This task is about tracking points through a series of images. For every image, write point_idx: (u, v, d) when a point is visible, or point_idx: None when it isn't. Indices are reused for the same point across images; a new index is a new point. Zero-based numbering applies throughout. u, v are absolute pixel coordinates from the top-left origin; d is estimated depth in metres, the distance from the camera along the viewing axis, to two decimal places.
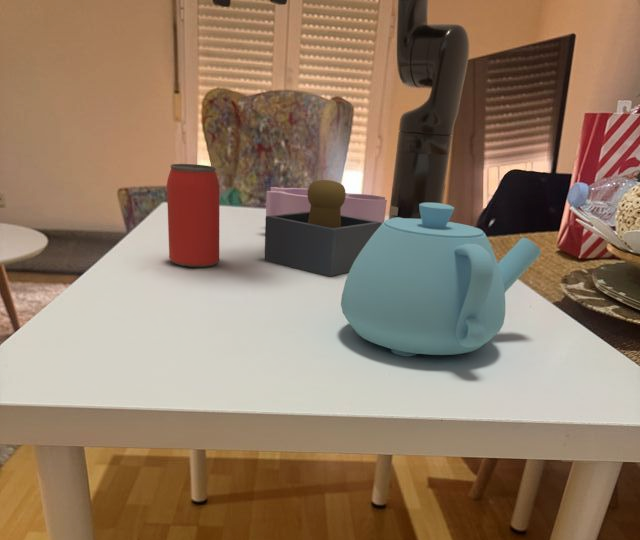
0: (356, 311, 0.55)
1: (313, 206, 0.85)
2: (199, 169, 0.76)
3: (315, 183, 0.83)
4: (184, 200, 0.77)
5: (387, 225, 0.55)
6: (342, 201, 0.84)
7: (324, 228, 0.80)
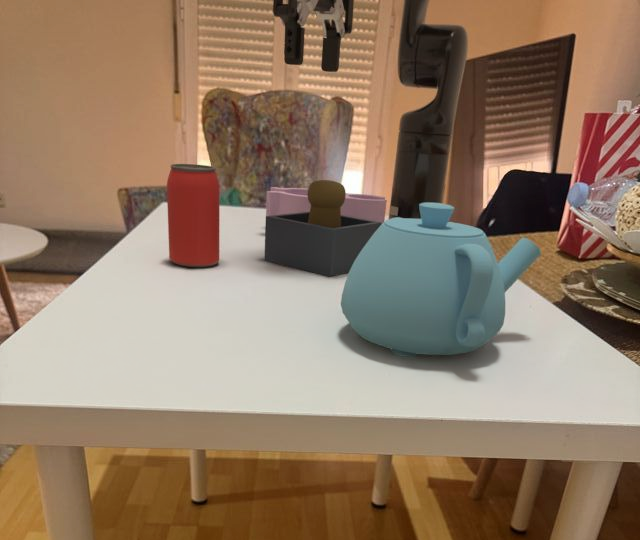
0: (356, 311, 0.55)
1: (313, 206, 0.85)
2: (199, 169, 0.76)
3: (315, 183, 0.83)
4: (184, 200, 0.77)
5: (387, 225, 0.55)
6: (342, 201, 0.84)
7: (324, 228, 0.80)
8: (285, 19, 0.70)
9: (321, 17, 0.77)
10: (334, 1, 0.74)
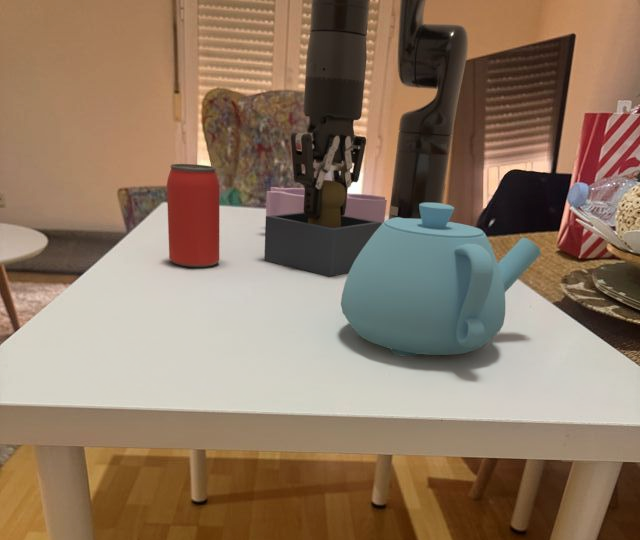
0: (356, 311, 0.55)
1: None
2: (199, 169, 0.76)
3: None
4: (184, 200, 0.77)
5: (387, 225, 0.55)
6: (342, 201, 0.84)
7: (324, 228, 0.80)
8: (304, 184, 0.81)
9: (331, 168, 0.86)
10: (343, 156, 0.83)
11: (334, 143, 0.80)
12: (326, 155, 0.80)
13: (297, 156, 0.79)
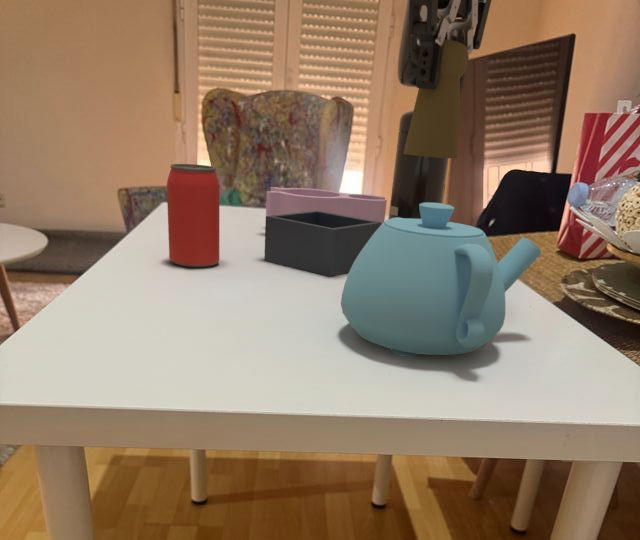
0: (356, 311, 0.55)
1: None
2: (199, 169, 0.76)
3: None
4: (184, 200, 0.77)
5: (387, 225, 0.55)
6: (465, 67, 0.65)
7: (324, 228, 0.80)
8: (422, 38, 0.61)
9: (449, 27, 0.66)
10: (469, 6, 0.64)
11: None
12: None
13: None
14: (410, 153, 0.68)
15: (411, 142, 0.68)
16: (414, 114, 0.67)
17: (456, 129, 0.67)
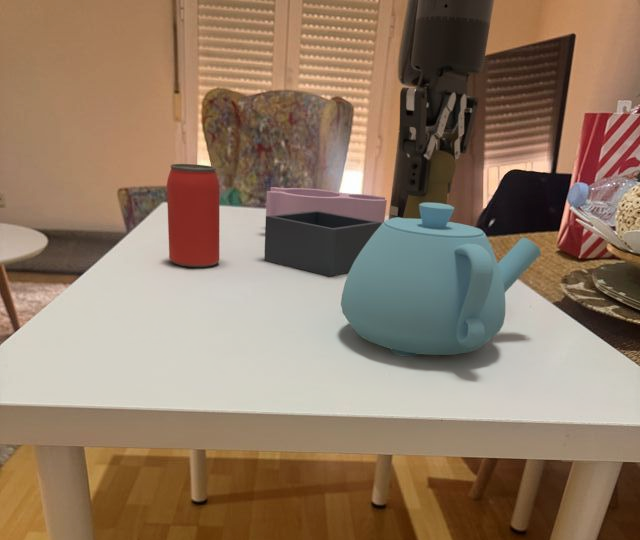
0: (356, 311, 0.55)
1: None
2: (199, 169, 0.76)
3: None
4: (184, 200, 0.77)
5: (387, 225, 0.55)
6: (452, 175, 0.69)
7: (324, 228, 0.80)
8: (411, 153, 0.66)
9: None
10: (456, 119, 0.68)
11: (450, 102, 0.65)
12: (440, 117, 0.65)
13: (407, 117, 0.63)
14: None
15: None
16: (405, 215, 0.72)
17: None
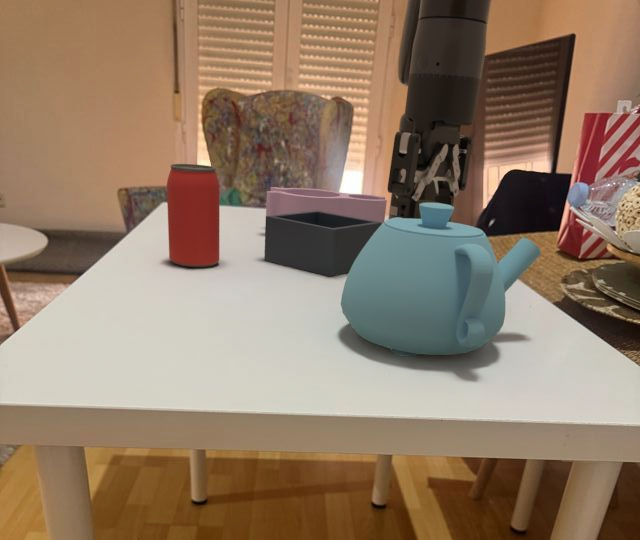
0: (356, 311, 0.55)
1: None
2: (199, 169, 0.76)
3: None
4: (184, 200, 0.77)
5: (387, 225, 0.55)
6: None
7: (324, 228, 0.80)
8: (400, 195, 0.67)
9: (435, 178, 0.73)
10: (450, 167, 0.70)
11: (442, 153, 0.67)
12: None
13: (398, 159, 0.65)
14: None
15: None
16: None
17: None
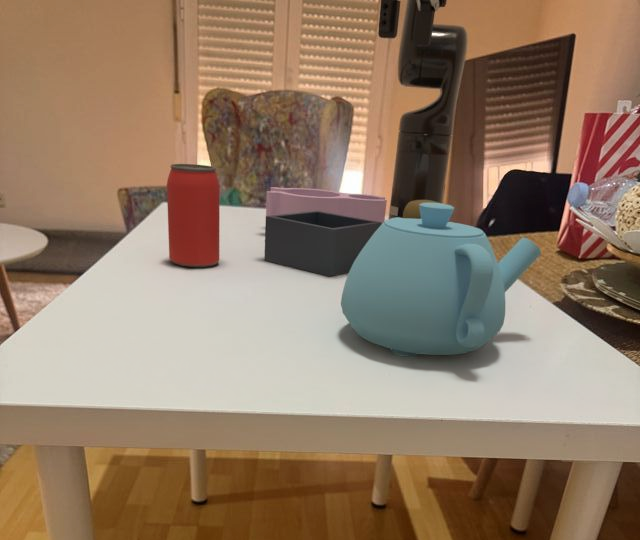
0: (356, 311, 0.55)
1: None
2: (199, 169, 0.76)
3: (414, 204, 0.71)
4: (184, 200, 0.77)
5: (387, 225, 0.55)
6: None
7: (324, 228, 0.80)
8: None
9: None
10: None
11: None
12: None
13: None
14: None
15: None
16: None
17: None
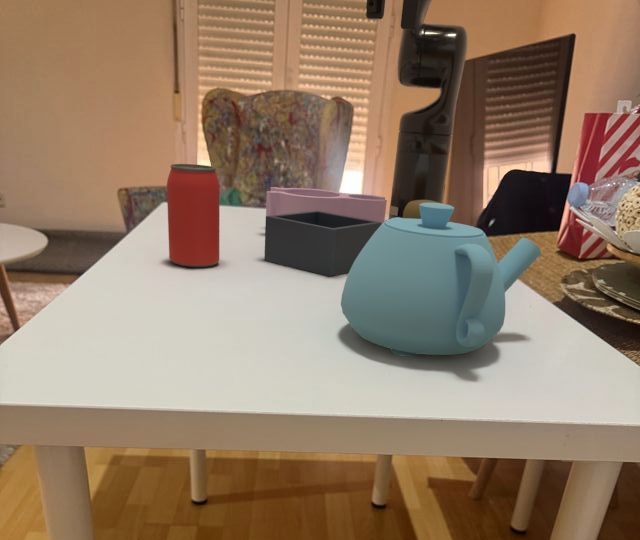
0: (356, 311, 0.55)
1: None
2: (199, 169, 0.76)
3: (414, 204, 0.71)
4: (184, 200, 0.77)
5: (387, 225, 0.55)
6: None
7: (324, 228, 0.80)
8: None
9: None
10: None
11: None
12: None
13: None
14: None
15: None
16: None
17: None
